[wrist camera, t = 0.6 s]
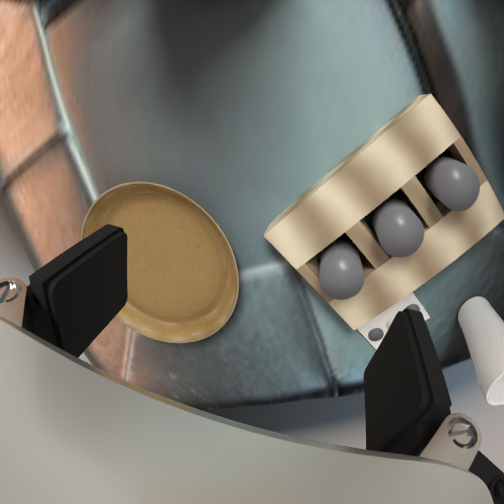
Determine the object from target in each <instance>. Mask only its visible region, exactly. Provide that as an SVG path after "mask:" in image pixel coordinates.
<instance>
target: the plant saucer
mask: <svg viewBox="0 0 504 504" xmlns="http://www.w3.org/2000/svg"><path fill="white" fill-rule="evenodd" d="M106 224H111V225H114V226H118V227H121V228H123V229H124V233H126V234H127V238H128V240H127V286H128V299H127V302H126V304H125V306H124V307H123V308H122V309H121V310H120V312H119V313H118V314H117V315H116V316H115V317H116V318H118V319H119V320H120V321H121V322H123V323H124V324H125V325H127V326H128V327H130V328H131V329H133V330H135V331H136V332H138V333H140V334H142V335H145V336H147V337H150V338H152V339H156V340H159V341H164V342H169V343H189V342H195V341H198V340H202V339H204V338H207V337H209V336H211V335H212V334H214V333H215V332H217V331H218V330H219V329H220V328H222V327H223V326H224V325H225V323H226V322H227V321H228V319H229V318H230V316H231V315H232V313H233V311H234V308H235V306H236V303H237V299H238V294H239V274H238V268H237V263H236V259H235V256H234V253H233V250H232V248H231V245H230V243H229V241H228V239H227V237H226V236H225V234H224V232H223V231H222V229H221V228H220V226H219V225H218V224H217V222H216V221H215V220H214V219H213V218H212V216H211V215H210V214H209V213H208V212H207V211H206V210H205V209H204V208H203V207H202V206H200V205H199V204H198V203H197V202H195V201H194V200H192V199H191V198H190V197H188V196H186V195H185V194H183V193H181V192H179V191H177V190H175V189H172V188H170V187H167V186H164V185H160V184H156V183H149V182H130V183H125V184H121V185H118V186H116V187H113V188H111V189H109V190H108V191H106V192H105V193H103V194H102V195H101V196H100V197H99V198H98V199H97V200H96V201H95V202H94V203H93V205H92V206H91V208H90V209H89V211H88V213H87V215H86V217H85V220H84V223H83V227H82V232H81V240H83V239H84V238H86V237H87V236H89V235H90V234H92V233H94V232H95V231H97V230H98V229H100V228H101V227H103V226H105V225H106Z"/></svg>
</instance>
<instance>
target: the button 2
mask: <svg viewBox="0 0 504 504" xmlns="http://www.w3.org/2000/svg"><path fill="white" fill-rule="evenodd" d="M424 180H425V184H426V187H427V189H428V190H429V192H430V193H431V194H433V195H434V196H435V197H436V198H437V199H438V200H440V201H441V202H442V203H443V204H444V205H445V206H447V207H448V208H449V209H451V210H453V211H464V210H467V209H469V208H470V207H471V206H472V205H473V204H474V203H475V202H476V200H477V198H478V195H479V191H480V182H479V178H478V176H477V174H476V172H475V171H474V170H473V169H472V168H471V167H470V166H468V165H466V164H463V163H461V162H459V161H457V160H454V159H452V158H450V157H447V156H439V157H436V158H435V159H434V160H433V161H432V162H430V163H429V164H428V165H427V167H426V170H425V174H424Z"/></svg>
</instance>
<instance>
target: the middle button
mask: <svg viewBox="0 0 504 504" xmlns="http://www.w3.org/2000/svg"><path fill="white" fill-rule="evenodd" d="M372 223H373V226H374V229H375V232H376V234H377V237H378V239H379V242H380V244H381V246H382V248H383V250H384V251H385V252H386V253H387V254H389V255H391V256H394V257H400V258H401V257H407V256H409V255H411V254H413V253H415V252H416V251H417V250H418V249H419V247H420V246H421V244H422V242H423V239H424V227H423V224H422V222H421V221H420V219H419V218H418V217H417V216H416V215H415V213H414V212H413V211H412V210H411V209H410V207H409V206H408V205H407V204H406V203H405V202H404V201H402V200H400V199H396V198H391V199H386V200H385V201H383V202H382V203H381V204H380V205H378V206H377V207H376V208H375V210H374V212H373V216H372Z"/></svg>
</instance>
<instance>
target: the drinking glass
mask: <svg viewBox="0 0 504 504" xmlns="http://www.w3.org/2000/svg"><path fill="white" fill-rule="evenodd" d="M458 322H459V324H460V327H461V329H462V331H463V334H464V337H465V340H466V343H467V346H468V349H469V352H470V356H471V359H472V362H473V366H474V369H475V372H476V375H477V379H478V382H479V384H480V387H481V390H482V392H483V394H484V397H485V399H486V401H487V403H489V404H490V405H502V404H504V321H503V320H502V319H501V318H500V316H499V315H498V314H497V313H496V311H495V310H494V309H493V308H492V306H491V305H490V303H489V302H488V301H487V299H485V298H484V297H481V296H476V297H472V298H470V299H468V300H467V301H466V302H465V303H464V304H463V305H462V306H461V308H460V310H459V313H458Z"/></svg>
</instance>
